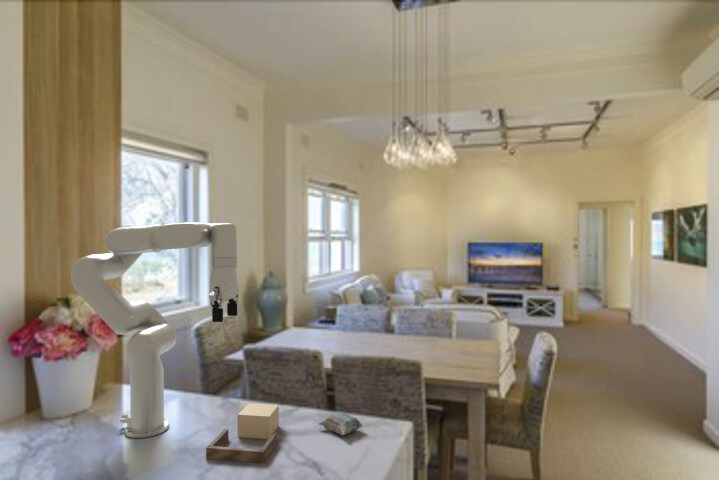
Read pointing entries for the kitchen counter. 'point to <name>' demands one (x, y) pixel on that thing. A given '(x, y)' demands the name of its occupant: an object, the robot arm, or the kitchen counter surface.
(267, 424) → the carton
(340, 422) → the packaged food
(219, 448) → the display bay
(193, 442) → the kitchen counter surface
